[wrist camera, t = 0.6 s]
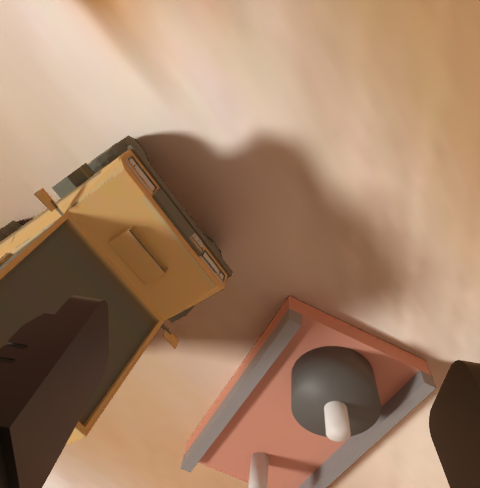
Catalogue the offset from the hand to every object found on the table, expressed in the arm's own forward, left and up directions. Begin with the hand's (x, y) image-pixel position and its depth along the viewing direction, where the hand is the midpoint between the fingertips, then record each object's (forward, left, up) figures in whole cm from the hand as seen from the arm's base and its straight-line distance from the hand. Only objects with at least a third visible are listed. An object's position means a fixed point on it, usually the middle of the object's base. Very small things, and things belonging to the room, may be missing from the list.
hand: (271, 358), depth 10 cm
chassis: (+19, +12, -18) cm, 29 cm away
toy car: (+12, -8, -18) cm, 24 cm away
